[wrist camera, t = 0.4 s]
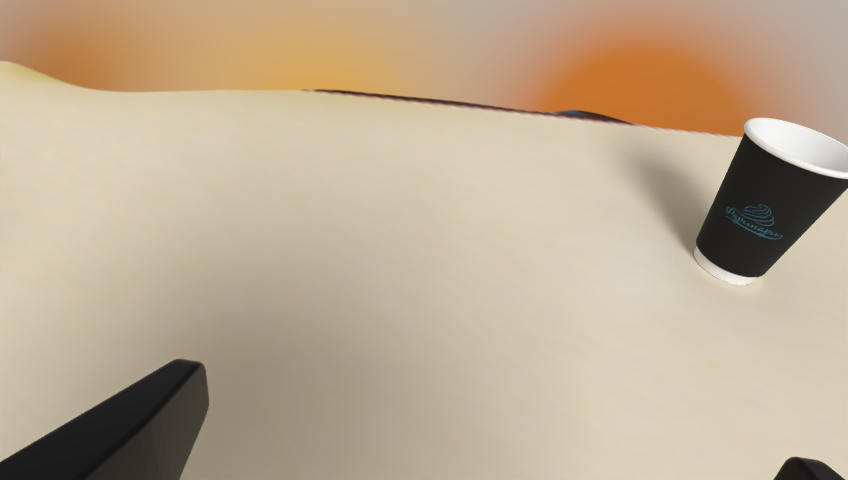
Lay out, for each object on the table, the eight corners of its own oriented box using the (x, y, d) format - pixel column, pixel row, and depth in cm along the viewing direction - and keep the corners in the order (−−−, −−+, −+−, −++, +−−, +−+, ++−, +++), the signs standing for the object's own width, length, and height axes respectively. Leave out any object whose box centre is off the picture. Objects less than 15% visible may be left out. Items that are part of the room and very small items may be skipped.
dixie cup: (690, 288, 40) (775, 159, 33) (663, 226, 46) (729, 108, 40) (793, 308, 40) (896, 184, 34) (751, 244, 47) (832, 130, 40)
